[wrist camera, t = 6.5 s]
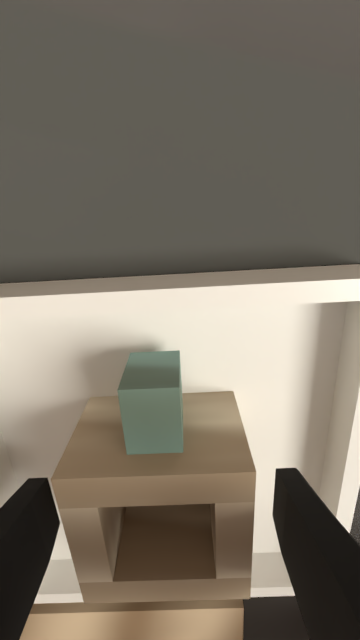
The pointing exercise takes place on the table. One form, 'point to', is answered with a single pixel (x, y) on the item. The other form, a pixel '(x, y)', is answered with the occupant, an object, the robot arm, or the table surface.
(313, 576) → the robot arm
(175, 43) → the table surface
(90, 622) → the tan base plate
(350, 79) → the table surface
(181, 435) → the collar
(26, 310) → the tray
